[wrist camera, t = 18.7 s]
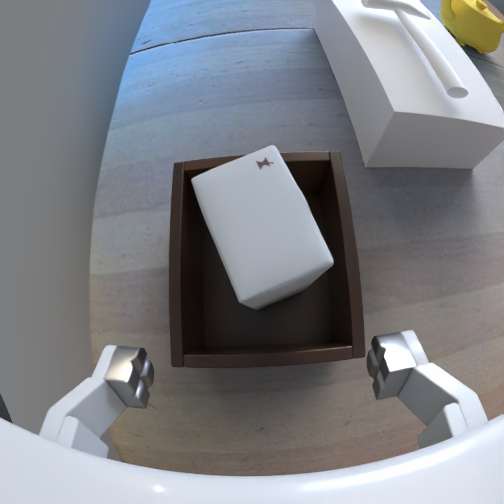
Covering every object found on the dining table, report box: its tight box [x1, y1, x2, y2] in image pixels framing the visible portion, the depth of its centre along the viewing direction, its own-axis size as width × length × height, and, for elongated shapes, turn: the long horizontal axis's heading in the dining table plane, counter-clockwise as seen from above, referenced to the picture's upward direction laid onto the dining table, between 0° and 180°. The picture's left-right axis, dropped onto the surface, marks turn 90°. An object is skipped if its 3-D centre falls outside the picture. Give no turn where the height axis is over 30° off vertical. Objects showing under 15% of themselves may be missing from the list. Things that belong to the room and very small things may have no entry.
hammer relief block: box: [313, 0, 504, 169], centre depth 23 cm, size 14×25×11 cm, turn 5°
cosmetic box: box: [191, 145, 333, 310], centre depth 17 cm, size 6×4×12 cm
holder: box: [169, 151, 365, 368], centre depth 21 cm, size 12×14×7 cm
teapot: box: [440, 0, 504, 54], centre depth 26 cm, size 18×11×11 cm, turn 90°
